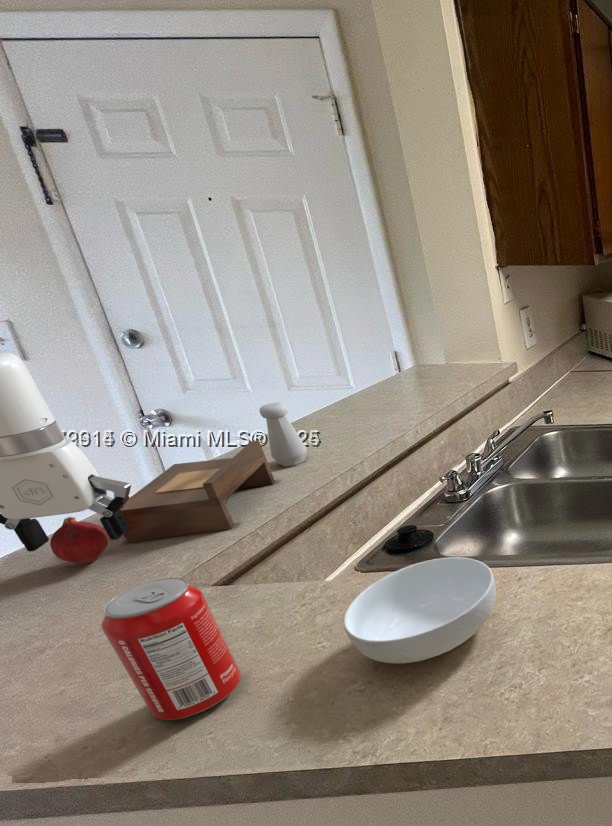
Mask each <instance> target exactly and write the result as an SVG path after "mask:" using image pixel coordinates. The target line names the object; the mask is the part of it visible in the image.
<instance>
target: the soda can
mask: <svg viewBox="0 0 612 826" xmlns="http://www.w3.org/2000/svg"><path fill="white" fill-rule="evenodd" d="M103 613H104V615H105V616H104V618H103V620H102V621H101V630H102V631H103V633H104V635H105V637H106V638H107V641H108V642H109V643H110V645H111V647H112V649H113V650H114V652H115V654H116V655H117V657H118V659H119V661H120V662H121V664H122V666H123V667H124V669H125V671H126V673H127V675H128V676H129V678H130V680H131V681H132V683H133V685H134V686H135V688H136V690H137V691H138V693H139V696H141V698H142V700H143V702H144V703H145V705H146V707H147V708H148V710H149V712H150V713H151V715H153V717H155V718H157V719H159V720H163V721H164V720H166V721H167V720H168V721H171V720H179V719H184V718H188V717H192V716H194V715H197V714H200V713H202V712H205V711H207V710H208V709H210V708H211V709H212V708H213V707H214V706H216V705H217V704H219V703H220V702H222V701H223V700H224V699H226V698H227V697H229V696H230V695H231V694H232V693H233V692H234V691H235V690H236V688H237V687H238V685H239V684H240V681H241V679H242V674H241V670H240V668H239V666H238V664H237V663H236V659H235V658H234V656H233V654H232V651H231V650H230V648H229V646H228V644H227V641H226V640H225V638H224V635H223V633H222V631H221V629H220V627H219V625H218V622H217V621H216V618H215V617H214V614H213V612H212V610H211V608H210V606H209V604H208V602H207V599H206V598H205V596H204V594H203V593H202V591H201V589H200V588H198V587H196V586H194V585H191V584H189V583H188V581H187V580H186V579H184V578H180V577H166V578H159V579H155V580H151V581H147V582H144V583H142V584H141V583H140V584H139V585H136V586H134V587H131V588H129V589H126V590H124V591H123V592H121V593H119V594H117V595H116V596H114V597H113V598H112V599H110V600H109V601H108V602H107V603H106V604H105V605H104V606H103Z"/></svg>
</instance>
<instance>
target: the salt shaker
mask: <svg viewBox="0 0 612 826" xmlns="http://www.w3.org/2000/svg"><path fill="white" fill-rule="evenodd" d="M288 413H289V408H288V407H287V405H286V404H285V403H283V402H269V403H267V404H264V405H262V406H260V408H259V414H260V416H261V417H262V418H263V419H266V426H267V434H268V441H269V449H270V455H271V457H272V459H273V460H274V461H275V462H277V463H278V465H280V466H282V467H284V468H287V467H295V466H298V465H300V464H303V463H305V460H306V456H307V453H308V448H307V446H306V445H305V443H304V442H303V440H302V439H301V437H300V436H299V434H298V433H297V431H296V429H295V428H294V426H293V424H292V423H291V421H290V420H289V418H288V417H287V414H288Z"/></svg>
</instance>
